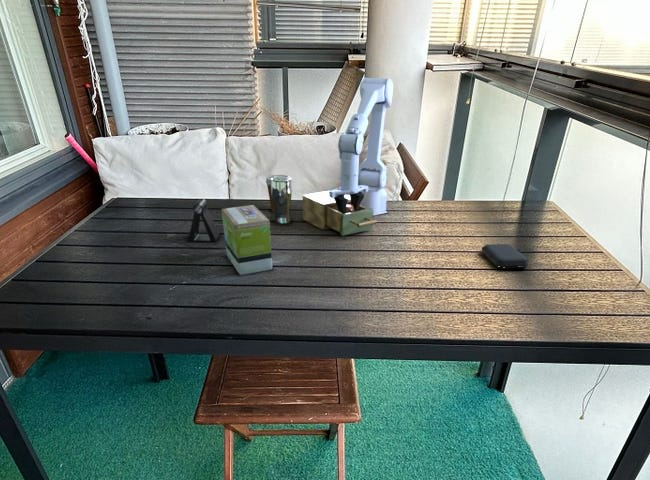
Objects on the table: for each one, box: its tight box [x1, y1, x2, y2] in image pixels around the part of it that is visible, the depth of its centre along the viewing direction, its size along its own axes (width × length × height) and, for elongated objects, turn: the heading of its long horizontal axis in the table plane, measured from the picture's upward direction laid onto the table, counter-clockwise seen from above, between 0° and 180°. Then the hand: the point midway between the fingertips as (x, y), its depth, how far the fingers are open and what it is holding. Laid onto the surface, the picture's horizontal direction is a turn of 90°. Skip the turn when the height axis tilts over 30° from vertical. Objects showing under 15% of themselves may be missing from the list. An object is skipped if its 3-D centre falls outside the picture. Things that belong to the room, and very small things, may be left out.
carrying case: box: [481, 243, 530, 270], centre depth 143 cm, size 11×3×15 cm
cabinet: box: [302, 190, 351, 231], centre depth 172 cm, size 14×14×9 cm
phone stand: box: [187, 198, 220, 243], centre depth 156 cm, size 9×6×12 cm, turn 88°
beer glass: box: [271, 176, 293, 226], centre depth 169 cm, size 7×7×15 cm
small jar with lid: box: [346, 204, 355, 213], centre depth 163 cm, size 4×4×5 cm
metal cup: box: [265, 174, 290, 213], centre depth 182 cm, size 10×10×12 cm
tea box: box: [221, 204, 273, 276], centre depth 137 cm, size 15×10×15 cm, turn 23°
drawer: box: [325, 202, 377, 237], centre depth 162 cm, size 18×12×7 cm
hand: (347, 216), depth 164 cm, fingers closed on small jar with lid, 4 cm apart
